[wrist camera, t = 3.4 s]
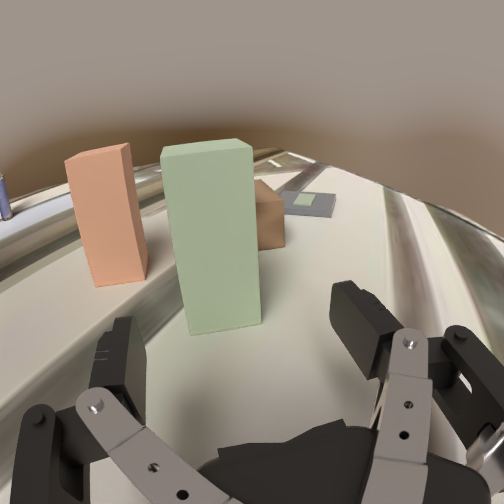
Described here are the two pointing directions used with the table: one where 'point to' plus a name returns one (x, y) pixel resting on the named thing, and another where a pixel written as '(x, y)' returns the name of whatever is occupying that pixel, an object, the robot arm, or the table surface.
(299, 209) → the tile
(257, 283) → the sage pillar
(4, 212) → the flask
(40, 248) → the table surface
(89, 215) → the terracotta pillar
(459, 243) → the table surface
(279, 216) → the walnut base
